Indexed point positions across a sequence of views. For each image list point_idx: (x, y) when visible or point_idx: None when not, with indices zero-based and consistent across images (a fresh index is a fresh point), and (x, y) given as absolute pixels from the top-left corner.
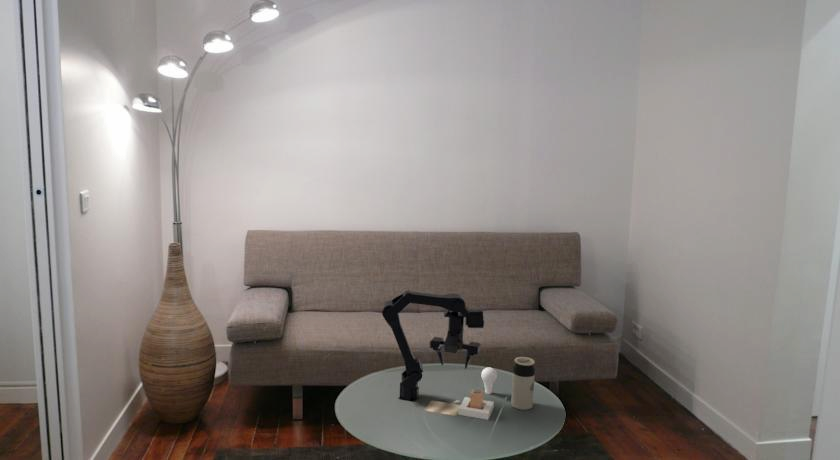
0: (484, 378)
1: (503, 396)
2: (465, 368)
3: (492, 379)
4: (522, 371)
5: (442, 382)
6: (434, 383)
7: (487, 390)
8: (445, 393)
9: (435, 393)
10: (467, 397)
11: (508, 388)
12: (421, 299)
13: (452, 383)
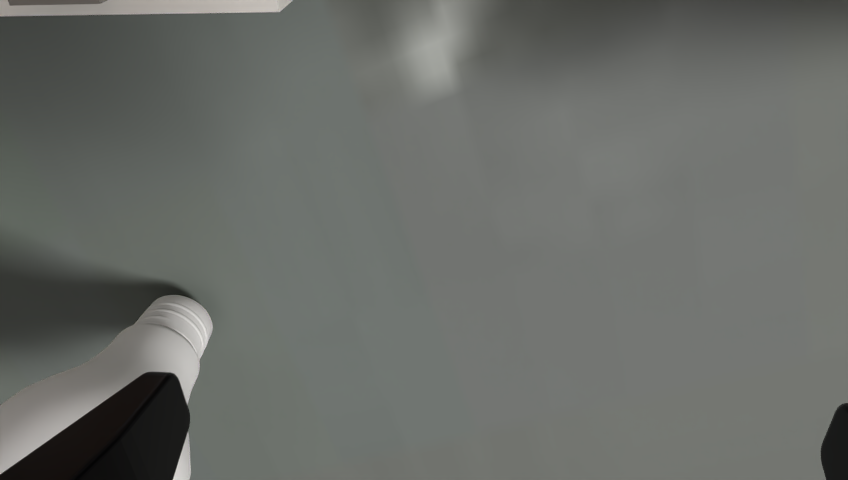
0: (99, 399)
1: (50, 310)
2: (157, 376)
3: (4, 403)
4: None
5: (691, 407)
6: (779, 369)
7: (158, 316)
8: (618, 191)
9: (746, 151)
10: (241, 6)
11: None
12: None
13: (585, 412)
